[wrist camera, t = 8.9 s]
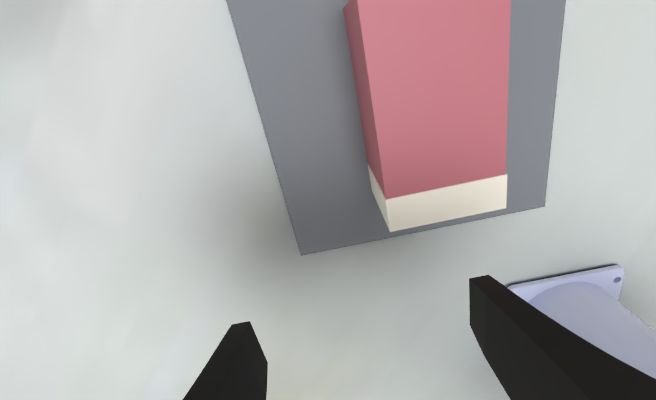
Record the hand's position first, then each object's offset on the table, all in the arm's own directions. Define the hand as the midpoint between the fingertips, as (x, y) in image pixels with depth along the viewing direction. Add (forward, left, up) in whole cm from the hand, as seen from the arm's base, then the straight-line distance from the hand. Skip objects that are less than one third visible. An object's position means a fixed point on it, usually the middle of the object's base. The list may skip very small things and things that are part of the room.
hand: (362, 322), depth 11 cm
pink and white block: (+5, -5, -9) cm, 11 cm away
